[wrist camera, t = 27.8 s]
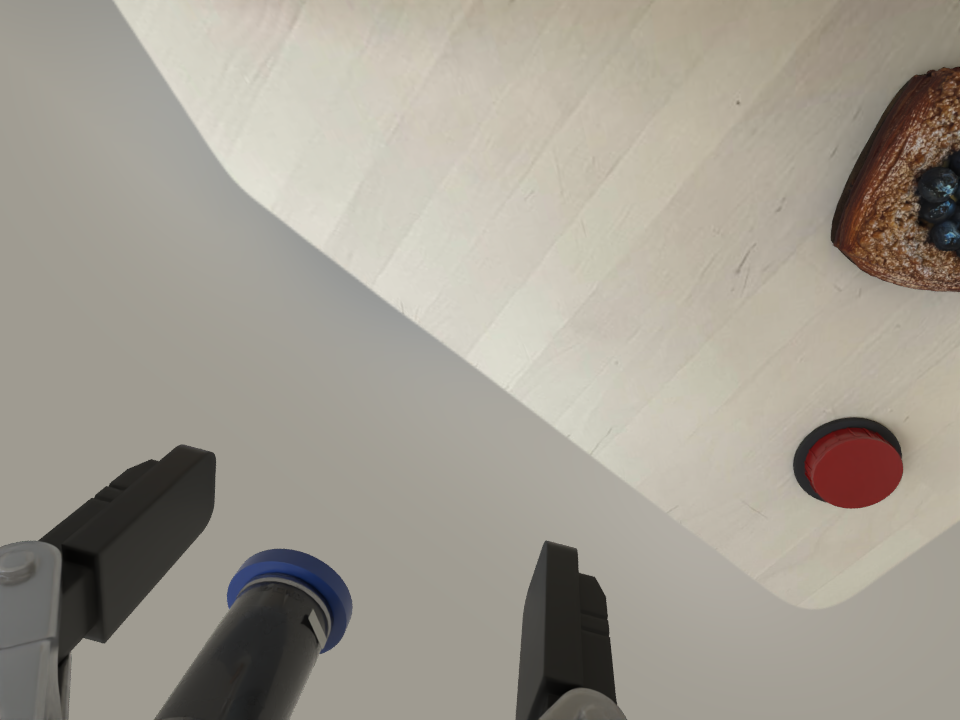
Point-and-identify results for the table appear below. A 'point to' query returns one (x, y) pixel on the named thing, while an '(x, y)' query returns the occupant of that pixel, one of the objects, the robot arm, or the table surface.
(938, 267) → the pastry
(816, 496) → the coaster
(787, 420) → the table surface
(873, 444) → the jar lid
